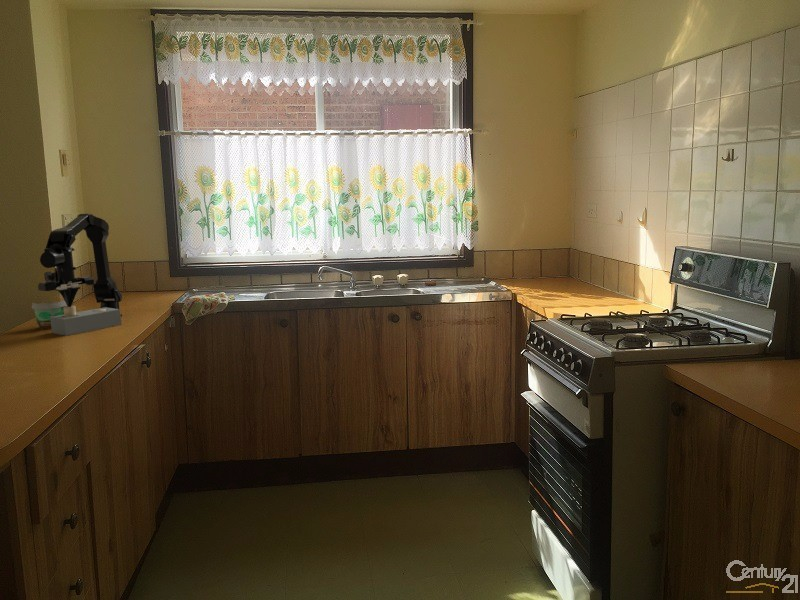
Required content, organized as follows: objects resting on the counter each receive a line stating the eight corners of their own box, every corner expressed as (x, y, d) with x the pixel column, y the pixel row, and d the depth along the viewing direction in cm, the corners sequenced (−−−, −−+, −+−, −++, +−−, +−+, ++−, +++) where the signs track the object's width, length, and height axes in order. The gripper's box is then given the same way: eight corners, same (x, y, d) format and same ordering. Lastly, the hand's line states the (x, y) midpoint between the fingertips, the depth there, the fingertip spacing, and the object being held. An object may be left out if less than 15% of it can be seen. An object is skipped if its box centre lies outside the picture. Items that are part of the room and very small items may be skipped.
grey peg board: (106, 322, 281) (105, 307, 280) (121, 324, 275) (119, 309, 274) (52, 332, 263) (50, 317, 262) (66, 335, 257) (64, 319, 256)
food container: (30, 331, 268) (27, 304, 267) (34, 328, 274) (31, 302, 272) (66, 328, 271) (63, 302, 270) (69, 325, 277) (66, 299, 276)
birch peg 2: (104, 324, 276) (102, 308, 275) (109, 325, 274) (108, 309, 273) (94, 326, 273) (92, 310, 272) (100, 327, 271) (98, 311, 270)
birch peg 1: (73, 321, 266) (71, 305, 265) (79, 322, 264) (77, 306, 263) (63, 323, 263) (61, 307, 262) (68, 324, 261) (67, 308, 260)
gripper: (77, 260, 272) (81, 301, 275) (28, 266, 257) (33, 309, 260) (93, 262, 266) (97, 303, 268) (43, 268, 251) (48, 311, 253)
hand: (69, 306), depth 263 cm, fingers closed, pressing on birch peg 1
